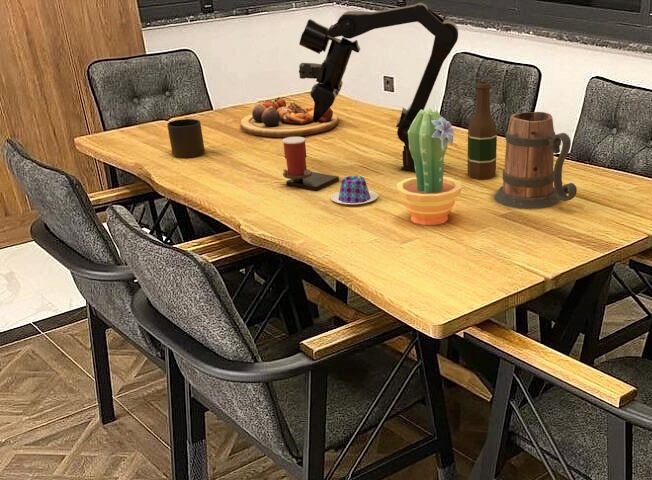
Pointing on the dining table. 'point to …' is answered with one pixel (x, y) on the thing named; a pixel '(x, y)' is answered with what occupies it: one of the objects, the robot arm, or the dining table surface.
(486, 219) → the dining table surface
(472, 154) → the beer bottle
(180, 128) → the dark brown cup
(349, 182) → the pudding
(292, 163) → the red cup with lid
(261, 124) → the wooden plate
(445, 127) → the potted cactus
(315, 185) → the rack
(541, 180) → the tankard
